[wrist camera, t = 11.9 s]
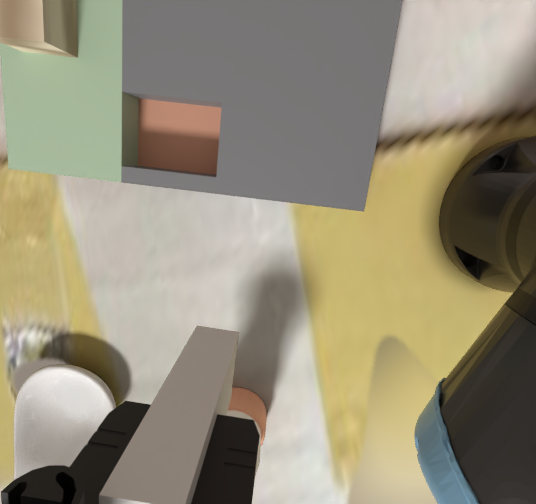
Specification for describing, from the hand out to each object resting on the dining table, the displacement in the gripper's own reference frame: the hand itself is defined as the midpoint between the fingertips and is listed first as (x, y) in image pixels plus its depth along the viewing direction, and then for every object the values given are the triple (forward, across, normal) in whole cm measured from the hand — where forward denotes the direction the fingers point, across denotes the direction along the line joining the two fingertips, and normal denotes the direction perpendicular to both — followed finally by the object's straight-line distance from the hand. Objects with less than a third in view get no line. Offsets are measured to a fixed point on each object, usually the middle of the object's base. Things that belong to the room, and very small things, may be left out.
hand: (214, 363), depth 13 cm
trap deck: (+26, +8, -16) cm, 32 cm away
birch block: (+22, +21, -16) cm, 34 cm away
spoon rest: (+27, +22, +30) cm, 46 cm away
